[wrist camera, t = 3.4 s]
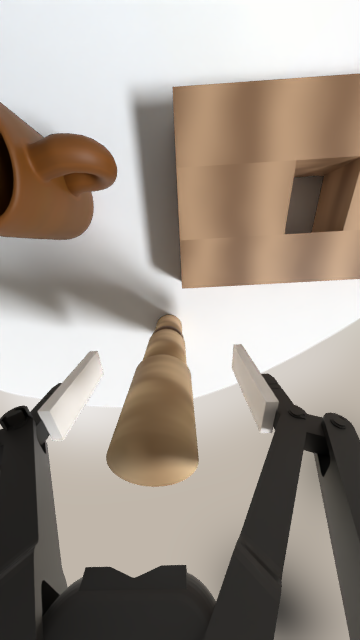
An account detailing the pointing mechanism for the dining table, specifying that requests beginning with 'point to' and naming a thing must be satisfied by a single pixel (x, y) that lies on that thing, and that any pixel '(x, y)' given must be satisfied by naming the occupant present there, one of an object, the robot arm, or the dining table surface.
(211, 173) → the seat board
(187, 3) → the dining table surface
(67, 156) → the mug
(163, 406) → the oak peg
